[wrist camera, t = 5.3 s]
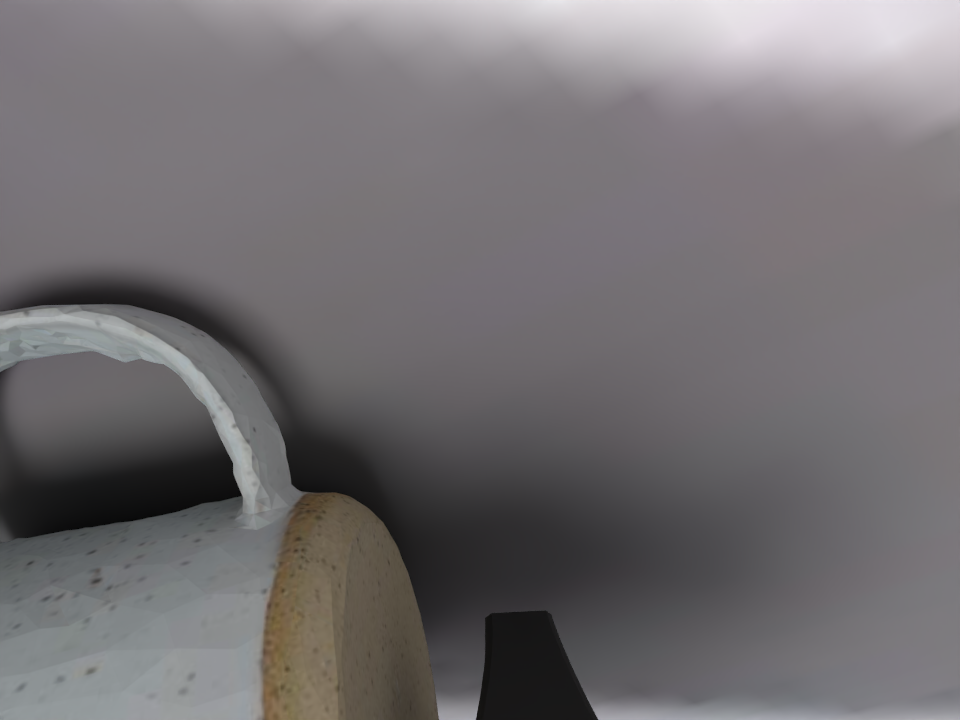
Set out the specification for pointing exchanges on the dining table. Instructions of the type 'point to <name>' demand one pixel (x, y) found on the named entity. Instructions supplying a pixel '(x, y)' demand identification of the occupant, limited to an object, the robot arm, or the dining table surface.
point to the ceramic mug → (206, 574)
